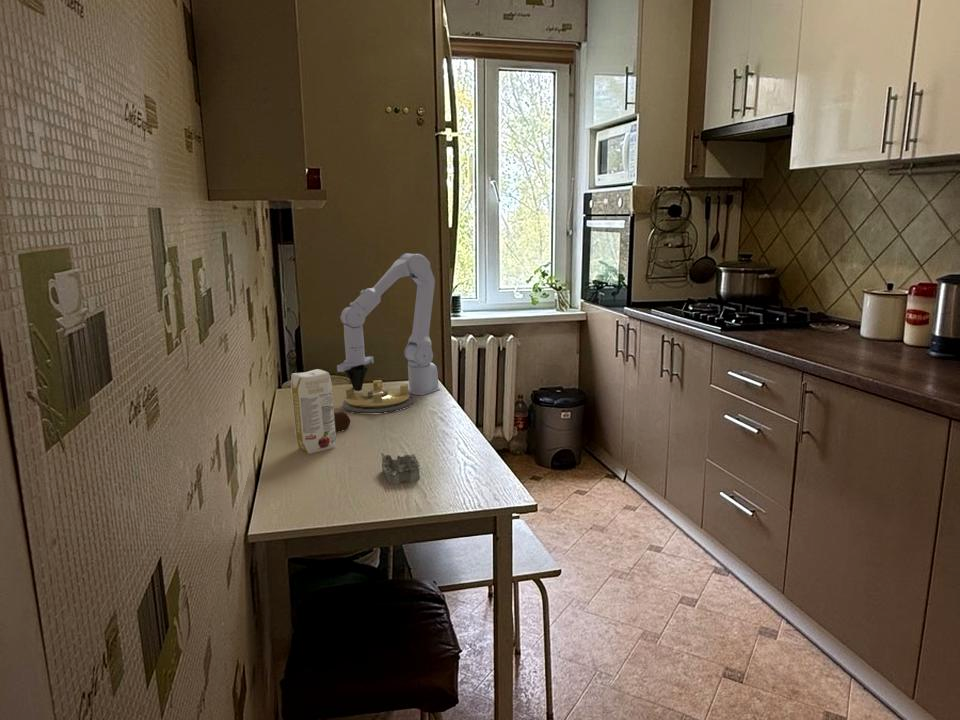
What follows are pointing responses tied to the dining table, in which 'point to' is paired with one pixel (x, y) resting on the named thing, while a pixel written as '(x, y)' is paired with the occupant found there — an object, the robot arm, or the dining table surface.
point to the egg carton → (401, 468)
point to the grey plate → (377, 410)
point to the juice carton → (313, 411)
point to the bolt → (341, 421)
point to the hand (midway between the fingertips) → (357, 390)
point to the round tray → (377, 396)
